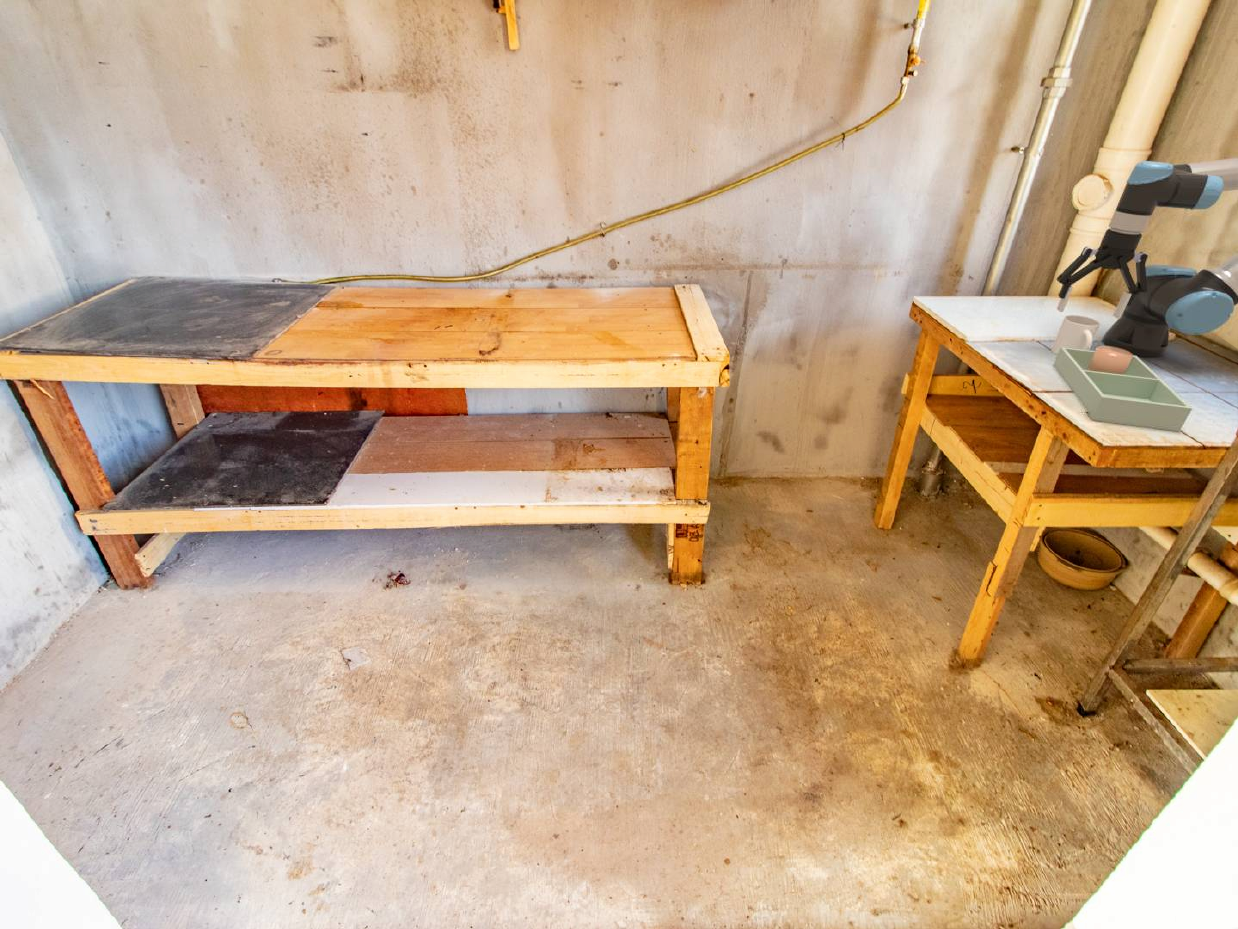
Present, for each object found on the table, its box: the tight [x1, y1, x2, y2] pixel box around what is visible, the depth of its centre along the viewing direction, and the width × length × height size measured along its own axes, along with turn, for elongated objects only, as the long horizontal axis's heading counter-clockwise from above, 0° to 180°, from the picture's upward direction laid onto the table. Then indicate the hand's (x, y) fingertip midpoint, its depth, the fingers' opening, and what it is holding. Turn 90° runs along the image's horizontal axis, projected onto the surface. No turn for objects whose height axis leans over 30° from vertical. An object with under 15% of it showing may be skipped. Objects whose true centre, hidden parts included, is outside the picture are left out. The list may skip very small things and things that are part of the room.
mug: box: [1050, 314, 1101, 356], centre depth 176 cm, size 12×8×10 cm
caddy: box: [1053, 347, 1193, 432], centre depth 157 cm, size 18×30×6 cm, turn 165°
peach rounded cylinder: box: [1087, 345, 1134, 375], centre depth 162 cm, size 8×8×8 cm
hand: (1087, 313), depth 172 cm, fingers open, 13 cm apart
